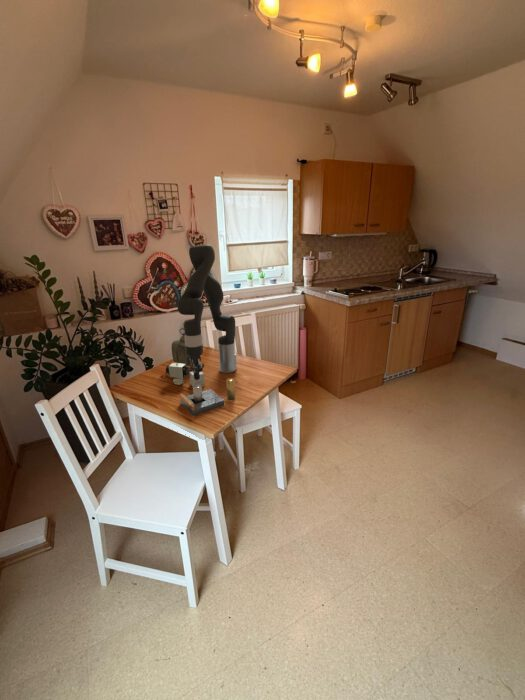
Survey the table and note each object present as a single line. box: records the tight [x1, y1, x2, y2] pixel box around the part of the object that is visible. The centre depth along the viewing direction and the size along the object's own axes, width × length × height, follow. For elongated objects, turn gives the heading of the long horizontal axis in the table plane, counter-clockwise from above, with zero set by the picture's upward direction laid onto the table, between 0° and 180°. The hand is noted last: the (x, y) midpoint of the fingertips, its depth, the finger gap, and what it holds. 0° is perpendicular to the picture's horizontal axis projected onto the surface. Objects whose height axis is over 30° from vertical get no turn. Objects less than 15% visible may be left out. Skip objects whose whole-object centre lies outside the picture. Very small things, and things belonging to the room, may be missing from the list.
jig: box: [179, 388, 225, 417], centre depth 152 cm, size 16×14×5 cm
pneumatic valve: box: [165, 362, 191, 386], centre depth 172 cm, size 6×12×12 cm, turn 78°
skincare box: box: [189, 371, 206, 387], centre depth 170 cm, size 6×6×7 cm
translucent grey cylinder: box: [192, 385, 203, 404], centre depth 150 cm, size 4×4×10 cm
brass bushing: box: [225, 377, 236, 402], centre depth 156 cm, size 4×4×10 cm
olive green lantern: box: [171, 327, 190, 367], centre depth 188 cm, size 14×9×25 cm, turn 54°
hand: (196, 379), depth 147 cm, fingers closed
